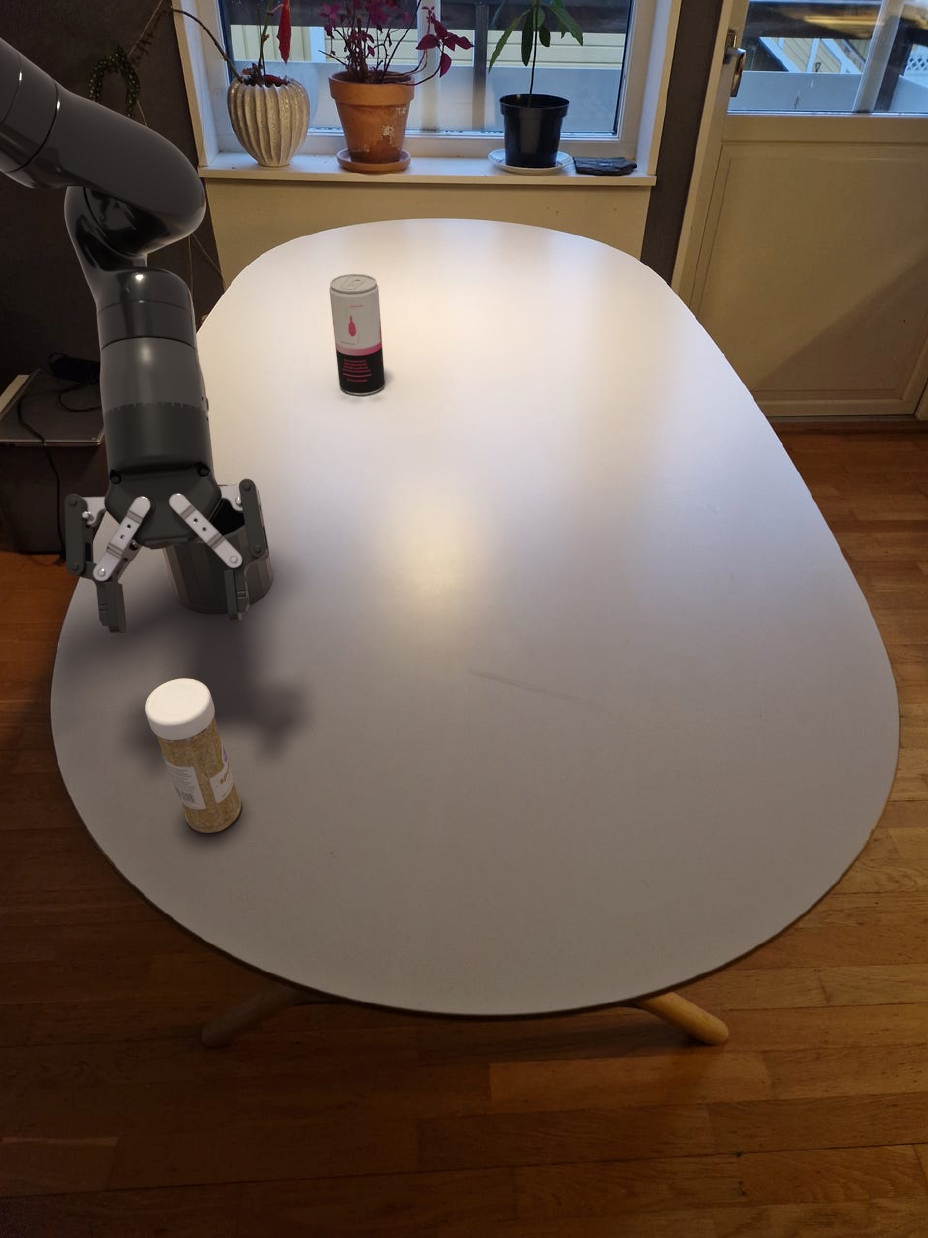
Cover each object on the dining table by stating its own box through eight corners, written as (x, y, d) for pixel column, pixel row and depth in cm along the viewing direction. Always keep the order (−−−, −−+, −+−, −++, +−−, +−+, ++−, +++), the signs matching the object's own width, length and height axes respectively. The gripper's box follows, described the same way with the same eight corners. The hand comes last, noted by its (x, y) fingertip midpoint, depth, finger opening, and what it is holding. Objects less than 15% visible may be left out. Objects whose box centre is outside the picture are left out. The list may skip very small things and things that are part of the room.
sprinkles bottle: (251, 816, 70) (220, 704, 61) (198, 845, 68) (157, 733, 59) (227, 779, 72) (194, 666, 63) (175, 806, 70) (133, 693, 61)
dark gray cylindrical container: (178, 622, 87) (157, 551, 81) (172, 563, 94) (152, 493, 88) (279, 602, 89) (266, 532, 83) (265, 545, 97) (252, 477, 91)
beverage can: (392, 379, 127) (386, 276, 117) (372, 399, 122) (364, 294, 112) (352, 372, 128) (342, 270, 118) (331, 391, 124) (320, 287, 114)
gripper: (38, 405, 60) (60, 635, 60) (245, 390, 62) (269, 613, 61) (74, 435, 68) (94, 639, 67) (258, 420, 70) (279, 619, 69)
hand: (177, 626), depth 64 cm, fingers open, 8 cm apart
